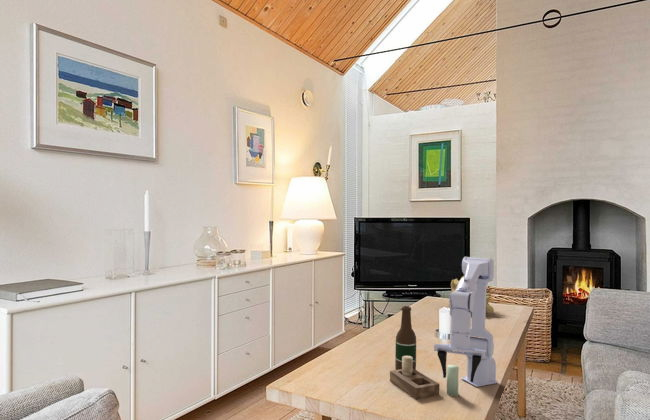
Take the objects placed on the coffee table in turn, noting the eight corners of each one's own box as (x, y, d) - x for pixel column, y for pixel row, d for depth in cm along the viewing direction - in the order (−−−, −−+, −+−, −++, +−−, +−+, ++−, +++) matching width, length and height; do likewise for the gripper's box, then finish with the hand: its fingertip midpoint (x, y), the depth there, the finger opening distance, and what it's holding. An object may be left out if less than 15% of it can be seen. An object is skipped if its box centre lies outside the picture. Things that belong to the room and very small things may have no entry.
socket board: (411, 377, 161) (411, 367, 161) (439, 394, 146) (439, 384, 146) (389, 380, 157) (389, 370, 157) (416, 399, 143) (416, 388, 143)
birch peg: (408, 380, 158) (408, 355, 158) (414, 384, 155) (414, 358, 155) (399, 382, 157) (400, 356, 156) (405, 385, 153) (405, 359, 153)
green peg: (453, 390, 150) (453, 364, 149) (460, 395, 146) (460, 367, 146) (444, 392, 148) (444, 365, 148) (451, 396, 145) (451, 369, 145)
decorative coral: (432, 288, 273) (466, 263, 269) (452, 313, 277) (486, 289, 274) (444, 307, 248) (481, 280, 245) (466, 334, 252) (503, 309, 249)
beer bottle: (413, 367, 171) (414, 304, 171) (418, 374, 163) (419, 309, 163) (393, 367, 171) (394, 304, 171) (397, 374, 163) (398, 309, 163)
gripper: (434, 330, 132) (431, 378, 131) (486, 337, 127) (484, 386, 126) (436, 327, 139) (433, 373, 137) (485, 334, 134) (484, 380, 133)
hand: (458, 379), depth 132 cm, fingers open, 7 cm apart
